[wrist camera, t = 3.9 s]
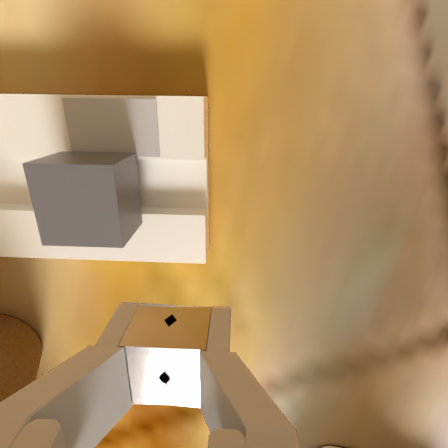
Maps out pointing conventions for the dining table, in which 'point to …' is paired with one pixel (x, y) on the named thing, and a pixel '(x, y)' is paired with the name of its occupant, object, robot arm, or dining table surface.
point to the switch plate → (112, 142)
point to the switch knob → (85, 198)
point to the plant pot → (17, 355)
